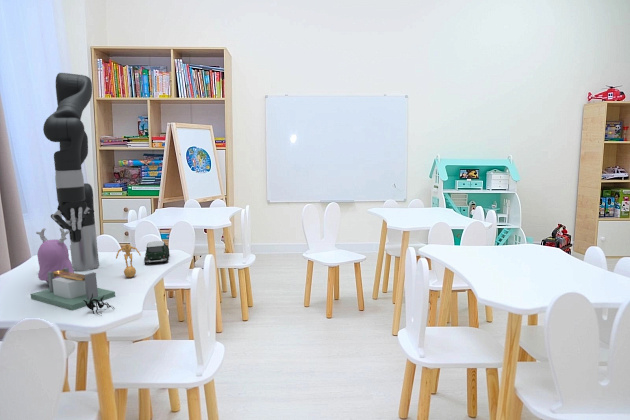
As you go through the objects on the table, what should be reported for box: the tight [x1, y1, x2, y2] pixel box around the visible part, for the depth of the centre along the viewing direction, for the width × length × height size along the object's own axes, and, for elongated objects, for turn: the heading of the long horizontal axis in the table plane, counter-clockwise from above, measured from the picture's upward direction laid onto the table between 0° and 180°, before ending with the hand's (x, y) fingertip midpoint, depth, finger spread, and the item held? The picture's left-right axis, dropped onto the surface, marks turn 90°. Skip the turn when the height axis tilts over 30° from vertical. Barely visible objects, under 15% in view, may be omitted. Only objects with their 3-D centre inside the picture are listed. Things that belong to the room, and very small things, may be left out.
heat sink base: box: [30, 268, 116, 311], centre depth 148 cm, size 23×14×9 cm, turn 58°
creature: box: [83, 294, 116, 317], centre depth 134 cm, size 8×5×8 cm
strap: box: [53, 269, 85, 281], centre depth 147 cm, size 17×3×2 cm, turn 58°
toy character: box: [35, 227, 75, 285], centre depth 162 cm, size 12×10×20 cm
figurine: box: [115, 243, 141, 278], centre depth 170 cm, size 8×6×12 cm
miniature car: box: [143, 240, 170, 265], centre depth 194 cm, size 9×18×8 cm, turn 15°
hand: (76, 241), depth 143 cm, fingers closed
